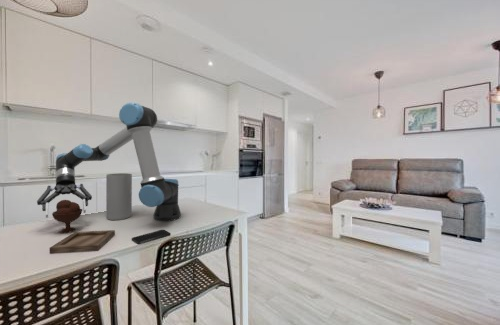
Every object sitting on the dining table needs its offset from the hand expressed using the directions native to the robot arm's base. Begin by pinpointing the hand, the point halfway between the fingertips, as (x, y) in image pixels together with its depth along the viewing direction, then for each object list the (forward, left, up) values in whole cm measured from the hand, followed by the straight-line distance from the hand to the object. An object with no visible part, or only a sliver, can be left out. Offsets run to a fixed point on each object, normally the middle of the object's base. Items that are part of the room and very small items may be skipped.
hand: (66, 213), depth 101 cm
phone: (-41, +13, -9) cm, 44 cm away
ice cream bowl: (-1, 0, -8) cm, 8 cm away
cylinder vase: (-16, -20, -8) cm, 27 cm away
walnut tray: (-16, +16, -8) cm, 24 cm away
